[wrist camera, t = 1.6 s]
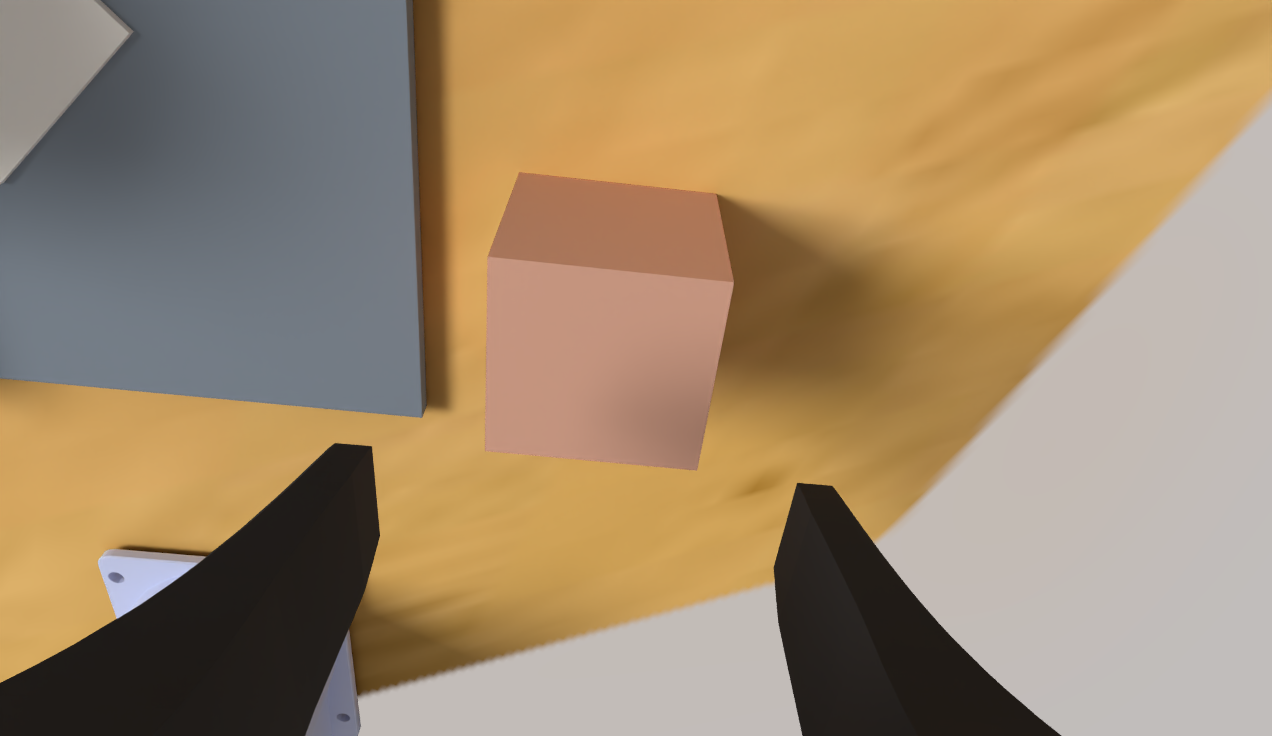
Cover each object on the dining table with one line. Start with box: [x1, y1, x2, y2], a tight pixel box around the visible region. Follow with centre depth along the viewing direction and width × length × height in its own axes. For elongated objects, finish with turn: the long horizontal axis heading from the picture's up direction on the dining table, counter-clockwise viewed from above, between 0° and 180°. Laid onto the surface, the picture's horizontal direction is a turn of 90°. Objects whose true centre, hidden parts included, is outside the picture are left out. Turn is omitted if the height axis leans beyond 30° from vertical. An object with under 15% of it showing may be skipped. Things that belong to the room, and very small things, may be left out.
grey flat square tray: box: [0, 0, 427, 418], centre depth 18 cm, size 16×16×4 cm
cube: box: [485, 172, 734, 470], centre depth 20 cm, size 5×5×5 cm
